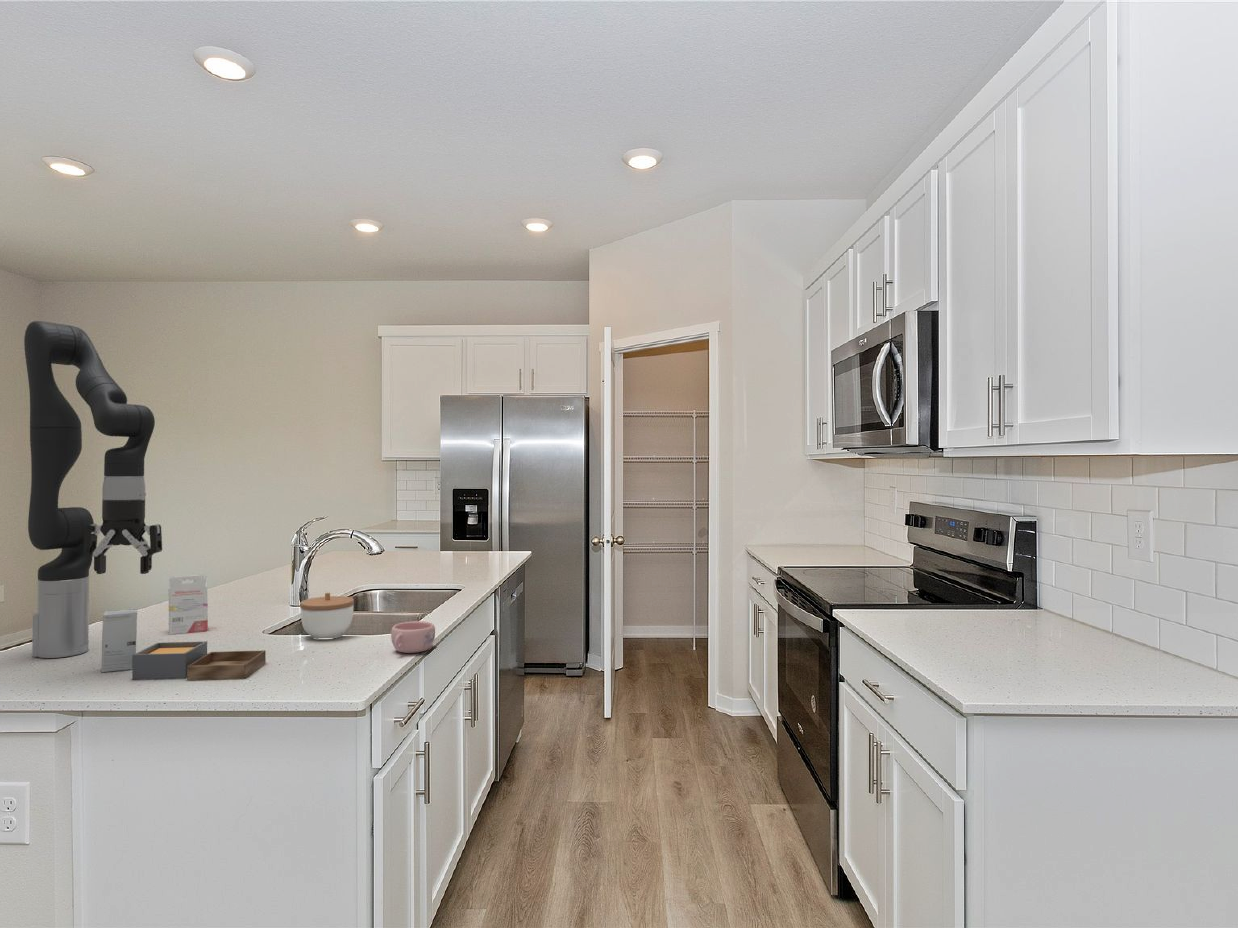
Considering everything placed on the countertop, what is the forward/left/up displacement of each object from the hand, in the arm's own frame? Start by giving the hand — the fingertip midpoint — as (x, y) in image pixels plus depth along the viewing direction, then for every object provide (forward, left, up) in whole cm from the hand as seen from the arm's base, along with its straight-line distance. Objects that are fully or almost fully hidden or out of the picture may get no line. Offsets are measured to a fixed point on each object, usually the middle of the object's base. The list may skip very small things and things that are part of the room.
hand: (123, 573), depth 151 cm
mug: (+59, +7, -20) cm, 62 cm away
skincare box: (0, 0, -20) cm, 20 cm away
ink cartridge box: (-1, +34, -20) cm, 39 cm away
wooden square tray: (+23, -5, -20) cm, 31 cm away
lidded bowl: (+36, +24, -20) cm, 47 cm away
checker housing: (+12, -4, -20) cm, 24 cm away
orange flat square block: (+12, -4, -18) cm, 22 cm away
